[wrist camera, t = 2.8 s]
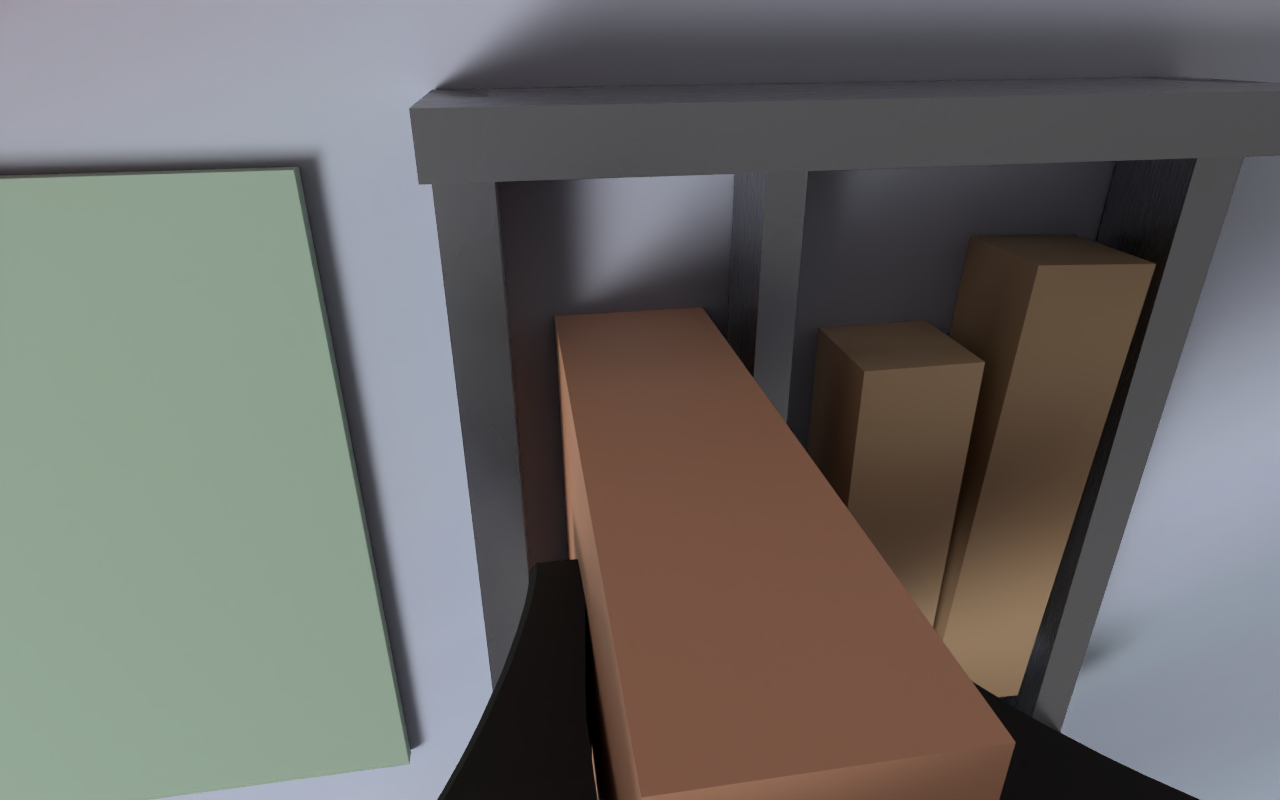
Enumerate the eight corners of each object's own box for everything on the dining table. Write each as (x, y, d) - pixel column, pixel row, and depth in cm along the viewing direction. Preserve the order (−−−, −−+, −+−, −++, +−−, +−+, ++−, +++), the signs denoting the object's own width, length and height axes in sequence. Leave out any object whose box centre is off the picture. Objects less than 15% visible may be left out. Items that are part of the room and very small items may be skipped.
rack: (1010, 701, 19) (1094, 813, 16) (510, 771, 17) (511, 909, 14) (1181, 76, 13) (1364, 88, 10) (432, 89, 11) (408, 108, 8)
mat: (410, 752, 16) (409, 764, 16) (-7, 808, 15) (-17, 822, 15) (298, 166, 11) (293, 170, 11) (-348, 185, 10) (-372, 190, 10)
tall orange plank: (692, 626, 16) (879, 1214, 8) (573, 639, 16) (644, 1269, 8) (701, 306, 13) (1014, 742, 5) (554, 315, 13) (641, 798, 5)
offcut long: (961, 621, 18) (1017, 695, 16) (879, 629, 17) (926, 705, 15) (1064, 231, 14) (1155, 263, 12) (961, 231, 14) (1038, 265, 12)
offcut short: (873, 613, 17) (920, 688, 15) (786, 624, 17) (823, 702, 15) (918, 315, 14) (984, 362, 12) (813, 322, 14) (864, 371, 12)
